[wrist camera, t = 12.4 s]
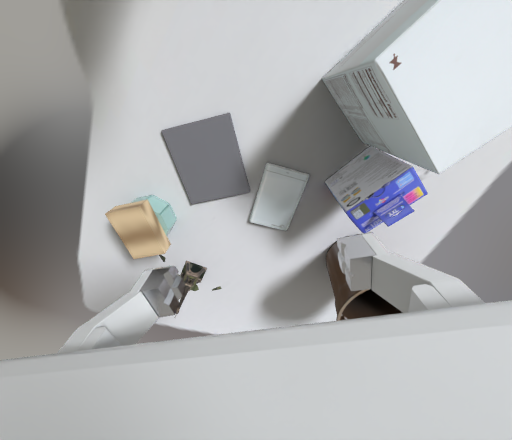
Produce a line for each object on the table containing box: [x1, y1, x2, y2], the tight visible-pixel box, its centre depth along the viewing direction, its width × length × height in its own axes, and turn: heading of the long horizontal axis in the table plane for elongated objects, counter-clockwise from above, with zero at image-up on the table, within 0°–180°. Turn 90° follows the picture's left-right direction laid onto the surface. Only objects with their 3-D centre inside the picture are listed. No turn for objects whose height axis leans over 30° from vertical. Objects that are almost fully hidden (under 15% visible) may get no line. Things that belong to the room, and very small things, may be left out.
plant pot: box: [326, 234, 403, 321], centre depth 42 cm, size 16×16×16 cm
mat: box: [162, 113, 250, 204], centre depth 39 cm, size 14×12×1 cm
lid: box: [105, 199, 171, 259], centre depth 40 cm, size 10×6×3 cm, turn 13°
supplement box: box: [322, 0, 512, 174], centre depth 24 cm, size 17×13×18 cm
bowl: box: [131, 195, 176, 236], centre depth 44 cm, size 9×9×4 cm
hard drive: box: [249, 162, 309, 231], centre depth 43 cm, size 2×8×12 cm
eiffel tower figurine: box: [159, 255, 221, 317], centre depth 48 cm, size 15×10×13 cm
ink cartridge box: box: [325, 146, 428, 233], centre depth 34 cm, size 10×6×14 cm, turn 134°
